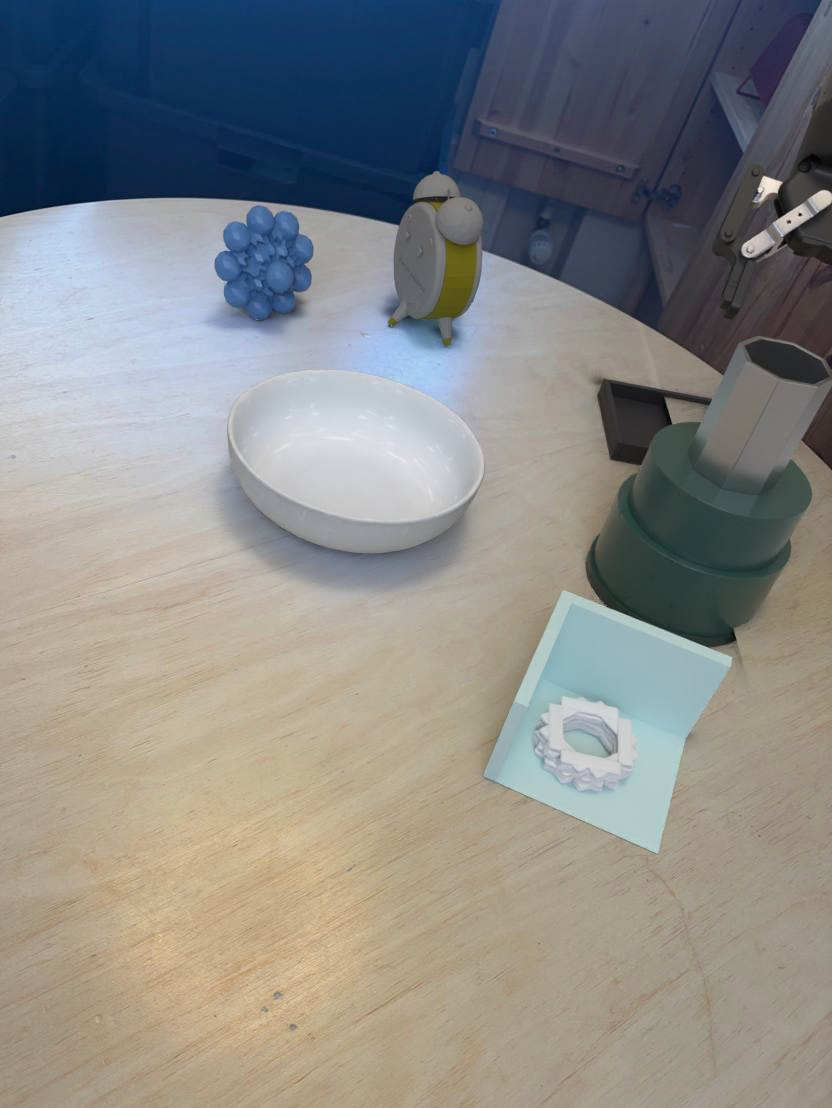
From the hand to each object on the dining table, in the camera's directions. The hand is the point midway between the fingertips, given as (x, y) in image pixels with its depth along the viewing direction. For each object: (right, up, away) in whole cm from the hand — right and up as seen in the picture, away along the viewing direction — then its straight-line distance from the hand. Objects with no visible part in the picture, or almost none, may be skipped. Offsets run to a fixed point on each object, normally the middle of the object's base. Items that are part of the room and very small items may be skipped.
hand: (788, 333), depth 70 cm
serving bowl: (-32, -11, +13) cm, 36 cm away
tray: (0, -1, +30) cm, 30 cm away
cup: (-3, -9, +4) cm, 10 cm away
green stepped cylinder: (-5, -17, +12) cm, 22 cm away
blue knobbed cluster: (-41, +11, +33) cm, 54 cm away
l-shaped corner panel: (-15, -30, -3) cm, 33 cm away
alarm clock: (-24, +13, +38) cm, 47 cm away
